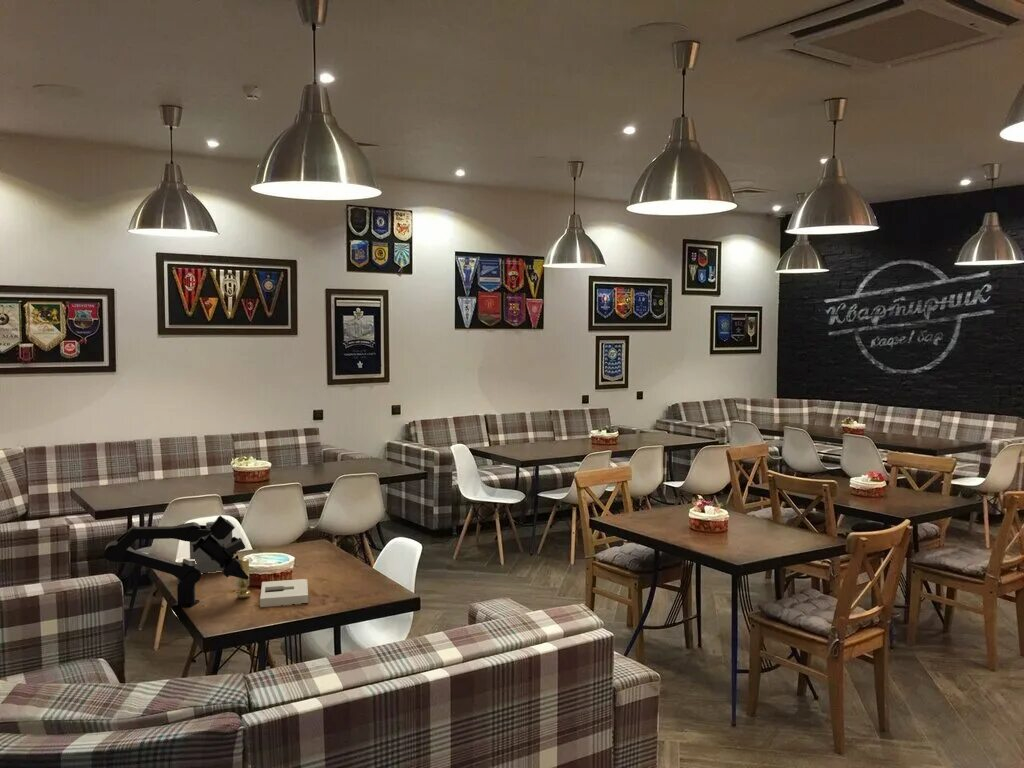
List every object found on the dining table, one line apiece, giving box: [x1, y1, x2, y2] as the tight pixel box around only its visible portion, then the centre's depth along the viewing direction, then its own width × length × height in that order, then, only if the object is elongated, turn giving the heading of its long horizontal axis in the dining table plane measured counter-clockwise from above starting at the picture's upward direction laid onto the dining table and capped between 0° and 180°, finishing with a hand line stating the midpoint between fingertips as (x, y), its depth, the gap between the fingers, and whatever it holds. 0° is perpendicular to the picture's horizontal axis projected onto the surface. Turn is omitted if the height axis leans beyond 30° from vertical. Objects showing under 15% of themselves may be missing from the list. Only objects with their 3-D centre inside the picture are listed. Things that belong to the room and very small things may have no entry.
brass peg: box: [236, 557, 252, 599], centre depth 296 cm, size 5×5×13 cm
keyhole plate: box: [259, 578, 309, 608], centre depth 298 cm, size 16×20×3 cm
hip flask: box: [189, 521, 233, 573], centre depth 328 cm, size 16×4×20 cm, turn 114°
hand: (247, 576), depth 297 cm, fingers closed on brass peg, 4 cm apart
